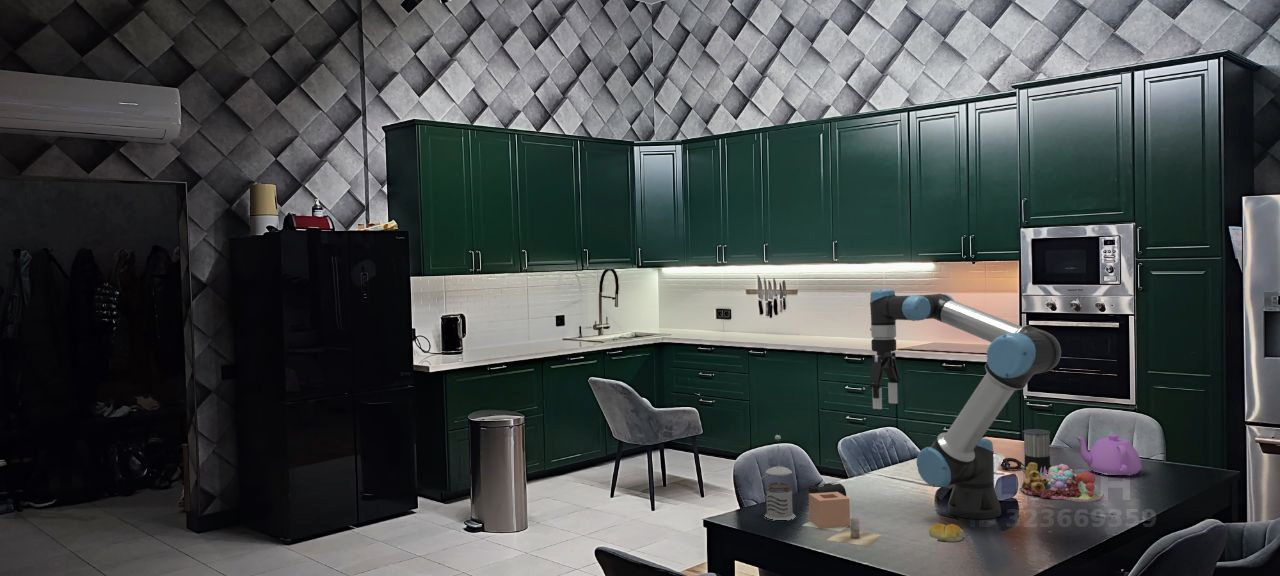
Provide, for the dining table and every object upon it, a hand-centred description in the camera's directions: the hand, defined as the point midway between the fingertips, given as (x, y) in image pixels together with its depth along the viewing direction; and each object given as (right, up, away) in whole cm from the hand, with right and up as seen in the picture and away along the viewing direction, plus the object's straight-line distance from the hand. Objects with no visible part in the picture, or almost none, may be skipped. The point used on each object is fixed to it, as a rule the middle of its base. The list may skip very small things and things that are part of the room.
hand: (885, 406), depth 287 cm
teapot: (+89, -29, +38) cm, 101 cm away
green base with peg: (-22, -33, -19) cm, 44 cm away
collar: (-22, -32, -19) cm, 43 cm away
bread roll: (+8, -32, -35) cm, 48 cm away
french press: (-35, -33, -7) cm, 49 cm away
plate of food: (+61, -30, +13) cm, 69 cm away
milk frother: (+64, -30, +46) cm, 84 cm away
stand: (-18, -33, -34) cm, 51 cm away
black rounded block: (-18, -33, +4) cm, 37 cm away
